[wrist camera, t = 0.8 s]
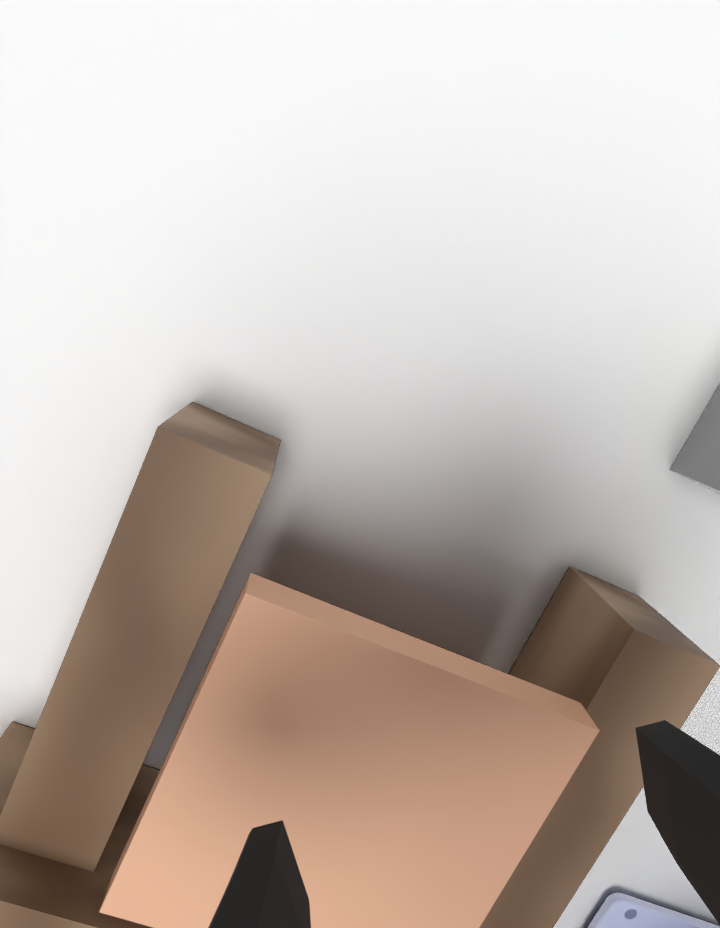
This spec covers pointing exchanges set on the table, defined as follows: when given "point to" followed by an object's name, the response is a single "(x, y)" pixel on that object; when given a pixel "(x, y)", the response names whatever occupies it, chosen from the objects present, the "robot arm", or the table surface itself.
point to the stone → (703, 448)
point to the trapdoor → (349, 772)
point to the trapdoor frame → (175, 636)
